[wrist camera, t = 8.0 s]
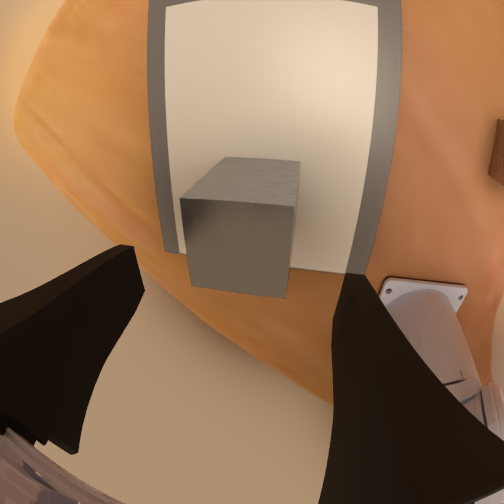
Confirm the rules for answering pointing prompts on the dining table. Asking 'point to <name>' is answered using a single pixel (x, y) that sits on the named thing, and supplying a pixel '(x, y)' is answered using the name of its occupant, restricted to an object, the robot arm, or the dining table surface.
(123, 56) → the dining table surface
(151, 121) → the scale
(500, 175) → the block
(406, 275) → the dining table surface
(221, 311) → the dining table surface
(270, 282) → the block
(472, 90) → the dining table surface
